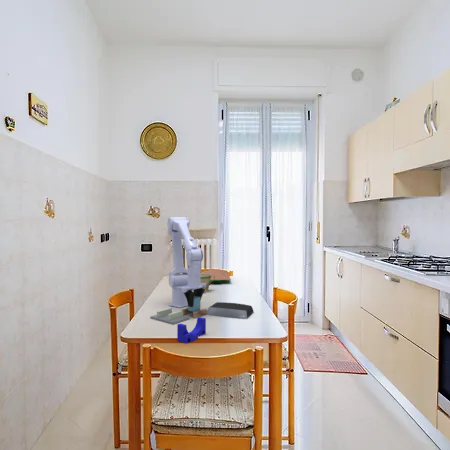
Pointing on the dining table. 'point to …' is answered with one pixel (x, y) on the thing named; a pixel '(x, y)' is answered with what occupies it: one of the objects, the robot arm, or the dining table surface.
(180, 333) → the blue cradle holder
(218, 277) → the sandwich
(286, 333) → the dining table surface
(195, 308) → the blue rectangular block
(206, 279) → the ceramic cup
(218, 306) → the external hard drive
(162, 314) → the dock
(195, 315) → the cradle
